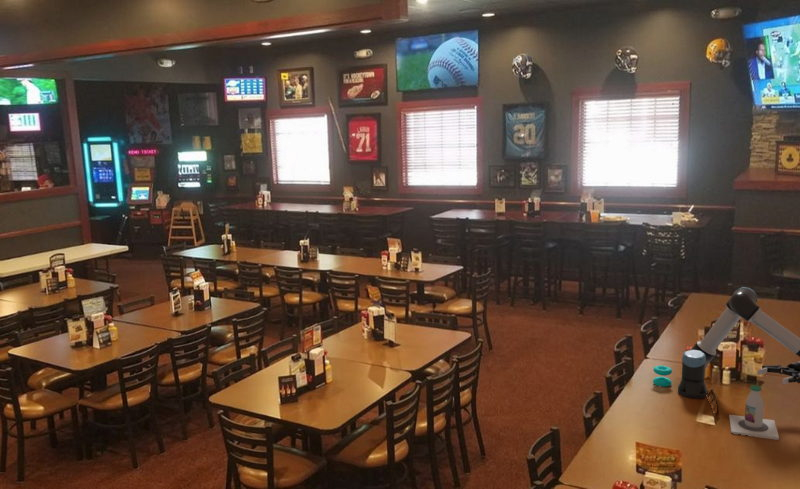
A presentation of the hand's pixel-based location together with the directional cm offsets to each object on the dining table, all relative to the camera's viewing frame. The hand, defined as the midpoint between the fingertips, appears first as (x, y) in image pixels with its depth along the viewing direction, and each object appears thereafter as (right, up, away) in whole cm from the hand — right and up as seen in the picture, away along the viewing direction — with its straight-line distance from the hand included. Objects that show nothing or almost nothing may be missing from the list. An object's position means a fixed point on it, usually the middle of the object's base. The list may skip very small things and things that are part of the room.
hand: (770, 377), depth 329 cm
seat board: (-12, -23, -7) cm, 28 cm away
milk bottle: (-12, -22, -7) cm, 27 cm away
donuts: (-34, -15, +51) cm, 63 cm away
